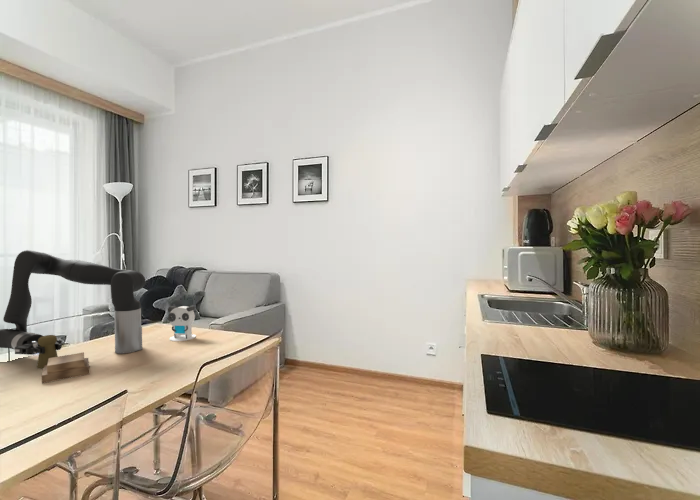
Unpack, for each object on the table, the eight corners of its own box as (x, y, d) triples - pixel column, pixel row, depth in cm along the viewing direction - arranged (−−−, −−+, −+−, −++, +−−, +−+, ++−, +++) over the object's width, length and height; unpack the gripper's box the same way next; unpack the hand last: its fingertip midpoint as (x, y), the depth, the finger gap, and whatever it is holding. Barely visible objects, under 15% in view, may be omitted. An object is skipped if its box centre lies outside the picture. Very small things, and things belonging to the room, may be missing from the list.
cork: (45, 369, 119) (45, 338, 119) (32, 367, 121) (31, 337, 120) (63, 363, 125) (62, 333, 125) (50, 362, 127) (49, 333, 126)
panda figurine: (162, 340, 154) (161, 308, 154) (178, 334, 165) (178, 303, 165) (186, 341, 152) (185, 309, 152) (200, 335, 164) (200, 304, 163)
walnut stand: (88, 364, 124) (88, 350, 124) (89, 374, 115) (89, 359, 115) (44, 372, 116) (44, 357, 116) (41, 383, 107) (41, 367, 107)
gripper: (3, 337, 123) (26, 343, 115) (51, 328, 135) (74, 333, 128) (3, 358, 123) (26, 365, 115) (51, 347, 136) (74, 353, 128)
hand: (51, 348), depth 122 cm, fingers closed on cork, 4 cm apart
